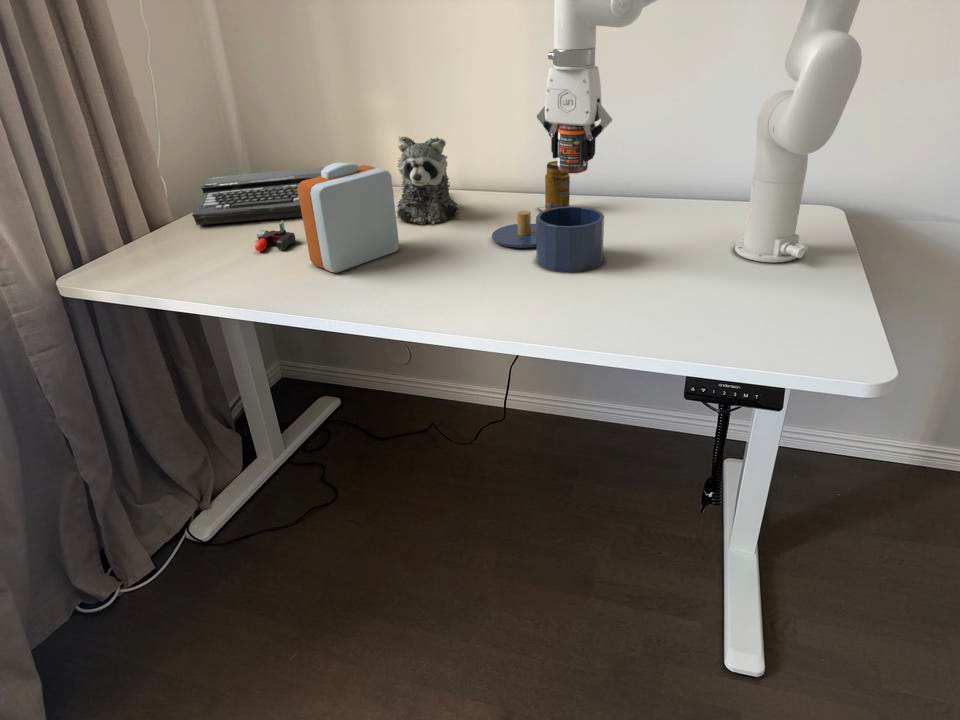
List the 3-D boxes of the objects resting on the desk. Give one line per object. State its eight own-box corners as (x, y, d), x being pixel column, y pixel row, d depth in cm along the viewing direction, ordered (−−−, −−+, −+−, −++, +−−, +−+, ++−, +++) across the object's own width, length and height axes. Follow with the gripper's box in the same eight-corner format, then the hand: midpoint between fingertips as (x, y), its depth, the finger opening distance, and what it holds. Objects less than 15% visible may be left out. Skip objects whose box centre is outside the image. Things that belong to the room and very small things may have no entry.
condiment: (566, 205, 180) (566, 158, 174) (577, 214, 172) (577, 166, 167) (539, 208, 179) (538, 161, 173) (548, 218, 171) (548, 169, 165)
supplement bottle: (554, 174, 136) (554, 113, 130) (560, 166, 141) (561, 107, 135) (585, 174, 134) (586, 113, 129) (590, 167, 139) (591, 107, 133)
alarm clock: (377, 242, 162) (366, 153, 152) (401, 250, 156) (390, 158, 146) (309, 266, 151) (292, 171, 141) (332, 275, 145) (316, 177, 135)
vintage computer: (194, 228, 177) (186, 197, 173) (214, 199, 202) (208, 172, 199) (362, 215, 182) (358, 184, 179) (361, 188, 208) (358, 161, 204)
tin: (615, 263, 143) (617, 218, 139) (559, 277, 138) (560, 231, 134) (578, 244, 154) (578, 202, 150) (525, 257, 149) (524, 214, 144)
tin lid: (569, 241, 156) (569, 214, 153) (512, 254, 151) (511, 227, 148) (535, 224, 168) (535, 199, 165) (481, 236, 162) (479, 210, 159)
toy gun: (262, 237, 170) (258, 218, 168) (302, 241, 165) (298, 222, 163) (235, 250, 162) (230, 230, 160) (276, 256, 158) (271, 235, 155)
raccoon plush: (403, 233, 167) (393, 143, 156) (387, 198, 194) (378, 120, 183) (464, 225, 169) (459, 137, 159) (441, 192, 196) (434, 114, 186)
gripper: (523, 60, 129) (525, 158, 138) (609, 62, 120) (605, 166, 129) (542, 55, 134) (543, 150, 143) (626, 57, 126) (621, 157, 135)
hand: (572, 157), depth 136 cm, fingers closed on supplement bottle, 6 cm apart
